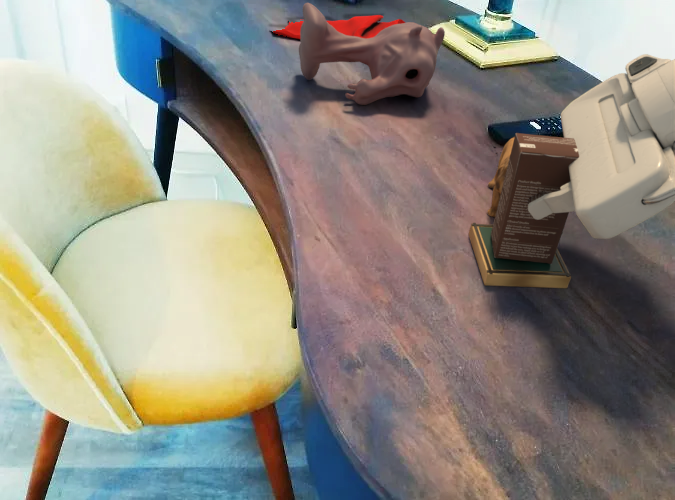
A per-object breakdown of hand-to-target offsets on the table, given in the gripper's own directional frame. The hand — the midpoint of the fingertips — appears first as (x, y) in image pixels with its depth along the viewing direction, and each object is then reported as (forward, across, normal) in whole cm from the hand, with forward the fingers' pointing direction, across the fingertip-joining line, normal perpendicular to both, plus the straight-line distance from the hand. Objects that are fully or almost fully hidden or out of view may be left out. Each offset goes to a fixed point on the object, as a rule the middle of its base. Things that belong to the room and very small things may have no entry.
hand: (529, 193), depth 62 cm
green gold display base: (+5, 0, -6) cm, 8 cm away
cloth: (+27, +58, +15) cm, 66 cm away
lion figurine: (+6, +11, -6) cm, 14 cm away
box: (+4, 0, -5) cm, 7 cm away
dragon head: (+21, +36, +9) cm, 43 cm away
